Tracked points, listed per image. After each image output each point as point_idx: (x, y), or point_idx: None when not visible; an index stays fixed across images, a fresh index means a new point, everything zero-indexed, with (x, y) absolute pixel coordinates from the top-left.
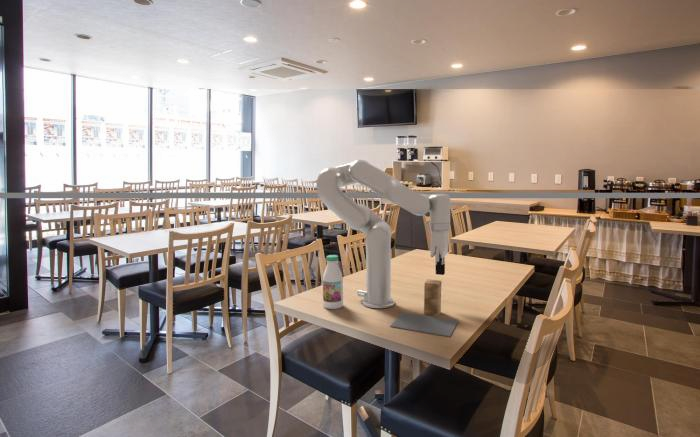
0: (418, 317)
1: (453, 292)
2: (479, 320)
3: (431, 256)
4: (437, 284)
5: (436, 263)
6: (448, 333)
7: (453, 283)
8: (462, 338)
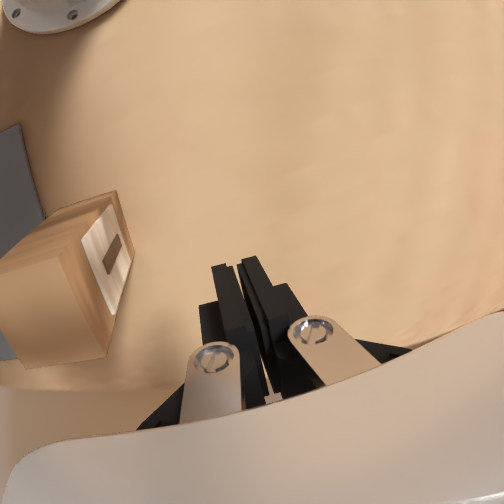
0: (10, 217)
1: (415, 186)
2: (162, 382)
3: (21, 472)
4: (22, 363)
5: (192, 372)
6: (2, 353)
7: (491, 152)
8: (19, 382)
